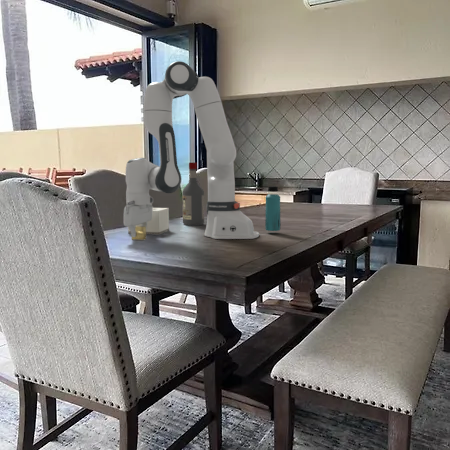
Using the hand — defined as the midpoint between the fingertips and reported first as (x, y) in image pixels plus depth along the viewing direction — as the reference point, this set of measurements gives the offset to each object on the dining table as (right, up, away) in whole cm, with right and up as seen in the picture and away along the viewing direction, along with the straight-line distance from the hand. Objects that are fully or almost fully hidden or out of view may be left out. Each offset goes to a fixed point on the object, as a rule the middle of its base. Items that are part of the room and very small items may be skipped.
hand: (138, 234), depth 176 cm
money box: (+1, +1, +18) cm, 18 cm away
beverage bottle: (+54, 0, +14) cm, 56 cm away
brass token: (0, -2, 0) cm, 2 cm away
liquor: (+19, +4, +42) cm, 46 cm away
